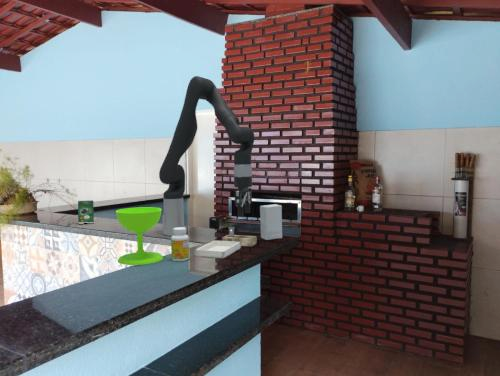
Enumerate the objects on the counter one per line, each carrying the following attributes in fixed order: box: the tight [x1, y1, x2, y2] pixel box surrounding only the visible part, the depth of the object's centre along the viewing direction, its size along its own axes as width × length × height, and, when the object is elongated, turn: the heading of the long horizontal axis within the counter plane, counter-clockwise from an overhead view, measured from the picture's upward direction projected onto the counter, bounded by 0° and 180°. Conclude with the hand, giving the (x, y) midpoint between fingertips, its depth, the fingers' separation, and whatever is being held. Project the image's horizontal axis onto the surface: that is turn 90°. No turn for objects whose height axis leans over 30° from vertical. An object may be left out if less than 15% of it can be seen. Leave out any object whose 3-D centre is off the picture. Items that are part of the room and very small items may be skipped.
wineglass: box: [115, 206, 164, 266], centre depth 152 cm, size 16×16×18 cm
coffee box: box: [77, 200, 95, 223], centre depth 234 cm, size 8×3×13 cm, turn 119°
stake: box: [228, 226, 236, 237], centre depth 177 cm, size 2×2×7 cm
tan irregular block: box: [221, 234, 258, 247], centre depth 175 cm, size 13×8×3 cm, turn 71°
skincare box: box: [259, 203, 283, 241], centre depth 186 cm, size 8×6×15 cm
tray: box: [194, 239, 242, 259], centre depth 162 cm, size 12×18×2 cm, turn 161°
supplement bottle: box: [170, 226, 190, 262], centre depth 151 cm, size 6×6×11 cm
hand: (243, 214), depth 174 cm, fingers open, 8 cm apart
